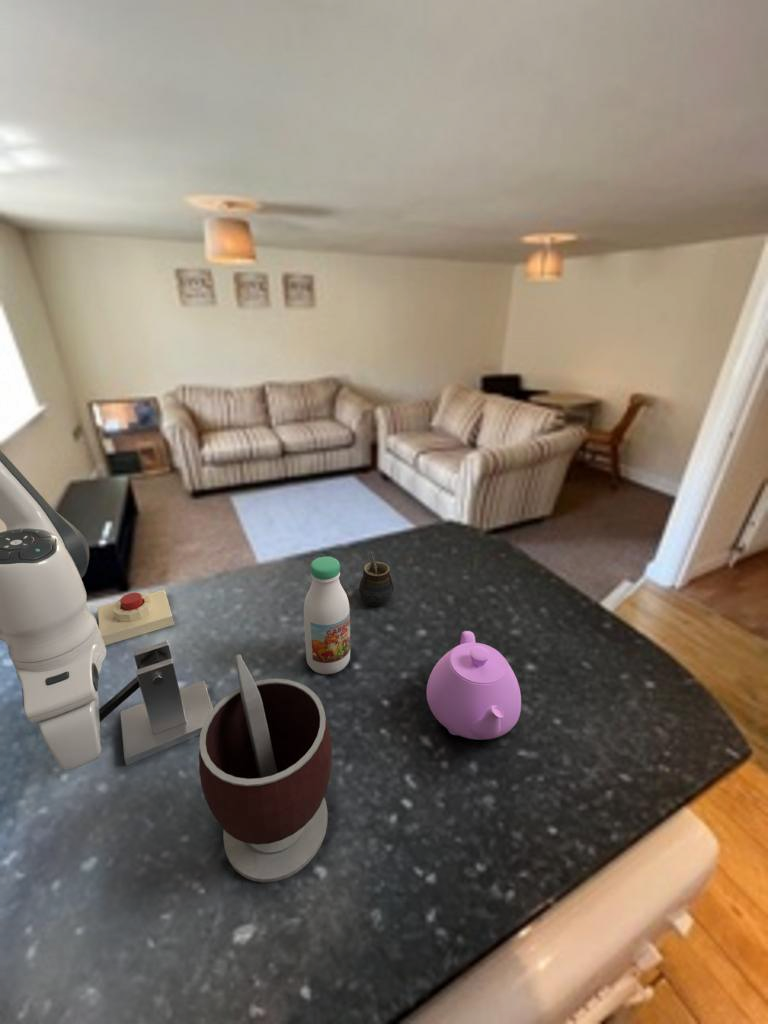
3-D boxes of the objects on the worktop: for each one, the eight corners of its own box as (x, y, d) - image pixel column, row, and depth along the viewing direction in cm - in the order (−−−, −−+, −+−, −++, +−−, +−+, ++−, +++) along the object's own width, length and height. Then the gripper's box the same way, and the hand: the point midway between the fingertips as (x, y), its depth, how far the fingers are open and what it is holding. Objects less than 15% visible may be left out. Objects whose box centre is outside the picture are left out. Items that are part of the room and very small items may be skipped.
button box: (102, 646, 81) (96, 629, 79) (100, 615, 88) (95, 599, 86) (174, 625, 86) (170, 608, 85) (166, 597, 94) (162, 581, 92)
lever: (90, 747, 59) (74, 741, 57) (90, 719, 63) (75, 713, 61) (172, 675, 61) (159, 667, 60) (167, 652, 65) (154, 644, 63)
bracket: (126, 765, 60) (103, 697, 55) (121, 717, 67) (101, 652, 62) (218, 727, 66) (205, 661, 61) (205, 686, 73) (192, 623, 68)
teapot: (539, 779, 60) (556, 715, 55) (434, 780, 60) (442, 716, 54) (499, 668, 78) (510, 612, 73) (419, 668, 78) (424, 612, 72)
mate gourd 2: (368, 614, 91) (369, 573, 86) (352, 595, 96) (351, 555, 92) (399, 604, 94) (401, 563, 90) (381, 585, 100) (382, 547, 96)
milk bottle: (298, 667, 77) (290, 569, 69) (320, 639, 84) (315, 546, 75) (337, 681, 75) (335, 581, 66) (357, 651, 81) (357, 556, 73)
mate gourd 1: (354, 842, 53) (354, 724, 44) (236, 922, 46) (208, 799, 37) (301, 742, 64) (293, 633, 56) (201, 793, 57) (173, 677, 49)
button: (122, 613, 83) (120, 605, 83) (121, 603, 86) (119, 595, 85) (144, 607, 85) (142, 600, 84) (142, 597, 88) (140, 590, 87)
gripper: (37, 617, 61) (68, 690, 67) (22, 726, 46) (64, 809, 52) (90, 602, 64) (115, 673, 70) (93, 699, 49) (126, 781, 55)
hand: (94, 732), depth 61 cm, fingers closed on lever, 5 cm apart
